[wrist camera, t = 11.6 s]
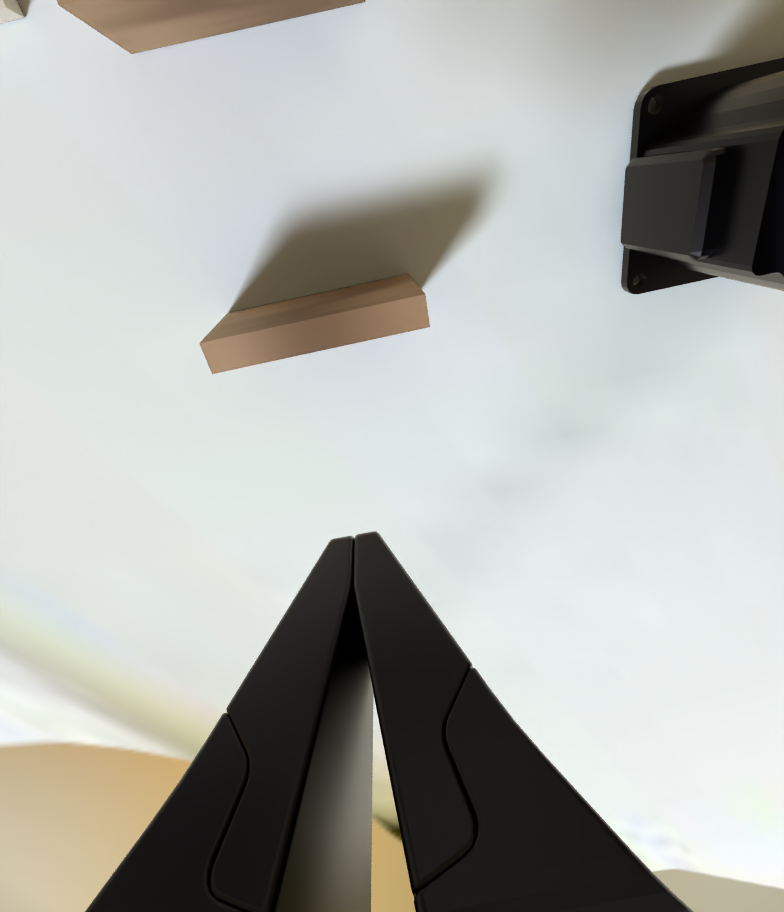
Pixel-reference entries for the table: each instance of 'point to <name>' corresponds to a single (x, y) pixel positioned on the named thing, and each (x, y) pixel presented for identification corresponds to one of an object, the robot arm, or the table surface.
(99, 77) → the table surface
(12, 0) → the dock
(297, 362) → the table surface
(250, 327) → the wooden blocks
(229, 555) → the table surface
